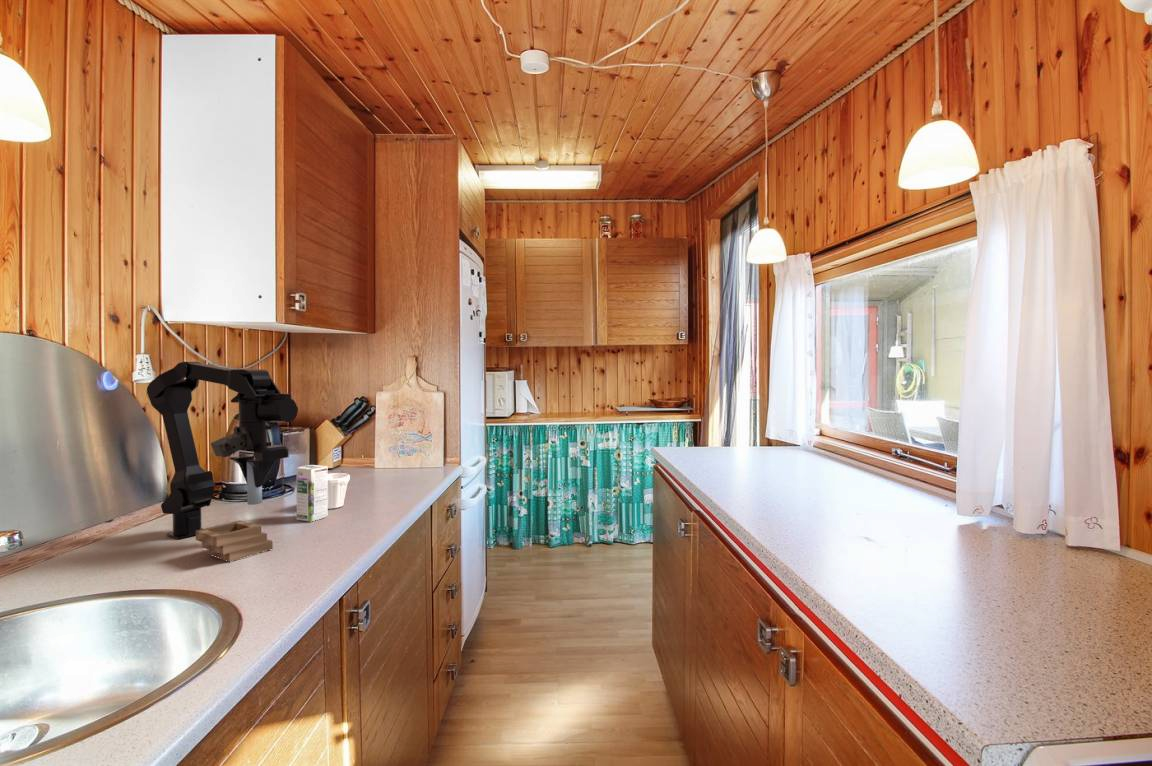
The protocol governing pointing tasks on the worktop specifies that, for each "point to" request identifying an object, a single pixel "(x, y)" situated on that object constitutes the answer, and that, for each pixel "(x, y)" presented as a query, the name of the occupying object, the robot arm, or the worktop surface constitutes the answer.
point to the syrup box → (312, 492)
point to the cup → (337, 489)
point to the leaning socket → (234, 540)
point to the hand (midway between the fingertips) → (254, 486)
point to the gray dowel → (252, 488)
